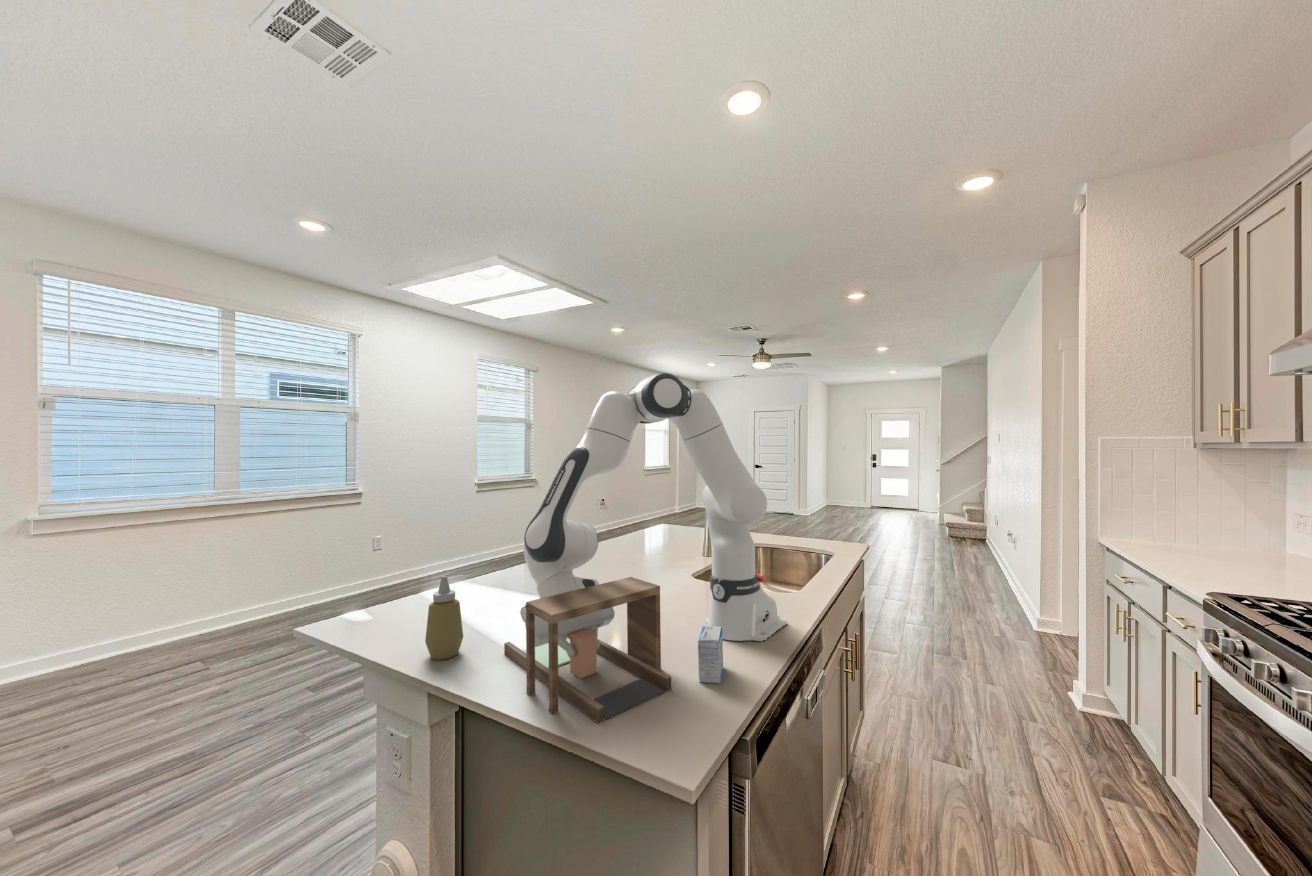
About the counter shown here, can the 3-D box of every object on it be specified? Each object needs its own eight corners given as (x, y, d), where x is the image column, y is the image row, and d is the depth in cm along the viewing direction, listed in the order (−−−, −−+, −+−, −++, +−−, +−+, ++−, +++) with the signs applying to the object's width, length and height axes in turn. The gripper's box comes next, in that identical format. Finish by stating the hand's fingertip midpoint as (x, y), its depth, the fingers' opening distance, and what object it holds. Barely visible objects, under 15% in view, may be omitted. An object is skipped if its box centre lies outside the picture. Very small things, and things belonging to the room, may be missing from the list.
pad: (566, 638, 120) (566, 637, 120) (593, 654, 111) (593, 652, 111) (516, 654, 112) (516, 652, 112) (542, 672, 103) (542, 670, 103)
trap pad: (642, 679, 99) (642, 678, 99) (665, 692, 94) (665, 690, 94) (584, 704, 90) (584, 702, 90) (606, 720, 84) (606, 718, 84)
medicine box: (720, 684, 97) (720, 640, 97) (698, 682, 97) (697, 639, 98) (723, 666, 104) (722, 626, 104) (702, 665, 105) (702, 625, 105)
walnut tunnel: (583, 629, 126) (583, 561, 126) (687, 682, 98) (686, 594, 98) (485, 659, 109) (485, 581, 109) (576, 734, 80) (575, 627, 81)
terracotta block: (586, 666, 105) (586, 628, 105) (596, 672, 102) (596, 634, 102) (570, 671, 103) (570, 633, 103) (580, 678, 100) (580, 639, 100)
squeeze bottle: (471, 651, 114) (470, 574, 114) (442, 665, 106) (442, 583, 107) (446, 645, 117) (445, 570, 117) (417, 659, 110) (416, 579, 110)
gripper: (522, 597, 101) (545, 659, 94) (602, 578, 115) (629, 631, 107) (513, 613, 104) (535, 674, 97) (592, 593, 118) (617, 645, 110)
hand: (585, 652), depth 102 cm, fingers closed on terracotta block, 4 cm apart
